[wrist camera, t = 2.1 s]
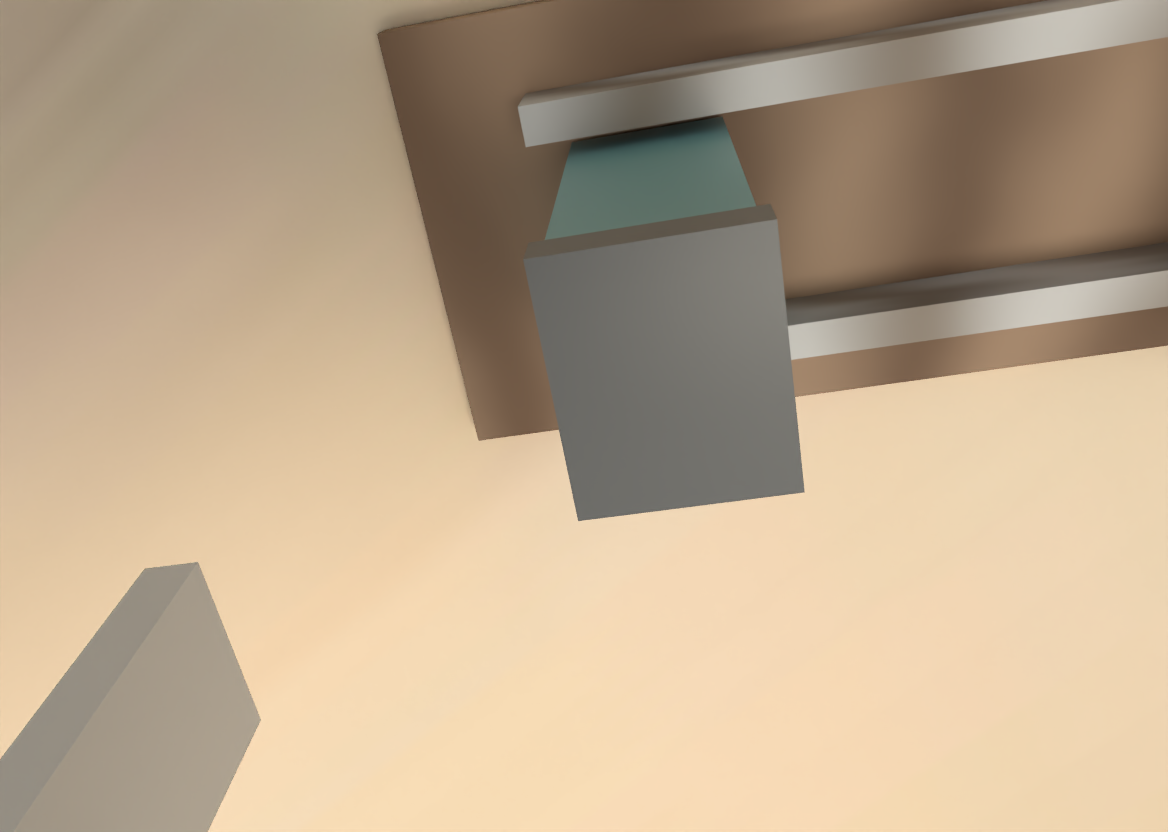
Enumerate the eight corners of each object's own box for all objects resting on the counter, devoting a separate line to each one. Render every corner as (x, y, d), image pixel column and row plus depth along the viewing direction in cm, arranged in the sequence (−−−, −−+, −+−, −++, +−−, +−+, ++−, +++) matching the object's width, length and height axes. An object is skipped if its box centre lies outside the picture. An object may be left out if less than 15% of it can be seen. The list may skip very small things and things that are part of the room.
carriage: (597, 324, 30) (578, 520, 21) (562, 136, 28) (523, 259, 18) (751, 301, 30) (804, 492, 20) (729, 107, 27) (777, 219, 18)
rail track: (482, 426, 33) (469, 472, 30) (385, 29, 28) (358, 43, 25) (1440, 292, 30) (1518, 330, 27) (1528, -186, 25) (1637, -196, 22)
